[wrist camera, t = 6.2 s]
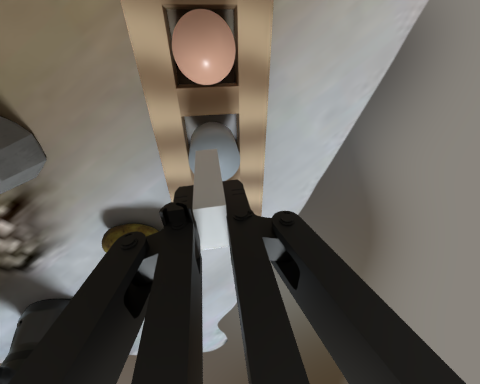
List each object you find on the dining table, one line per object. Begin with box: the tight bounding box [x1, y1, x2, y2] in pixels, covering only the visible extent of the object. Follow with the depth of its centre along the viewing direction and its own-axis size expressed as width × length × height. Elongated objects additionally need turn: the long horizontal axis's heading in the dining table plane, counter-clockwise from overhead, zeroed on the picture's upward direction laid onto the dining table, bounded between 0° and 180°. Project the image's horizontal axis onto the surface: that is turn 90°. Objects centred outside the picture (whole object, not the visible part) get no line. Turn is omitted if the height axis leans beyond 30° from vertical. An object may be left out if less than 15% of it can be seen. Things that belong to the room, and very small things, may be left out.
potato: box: [102, 224, 159, 253], centre depth 35 cm, size 8×13×8 cm, turn 43°
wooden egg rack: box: [120, 0, 273, 217], centre depth 28 cm, size 30×14×3 cm, turn 1°
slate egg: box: [188, 122, 240, 181], centre depth 25 cm, size 6×6×5 cm
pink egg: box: [172, 9, 236, 85], centre depth 21 cm, size 6×6×5 cm
